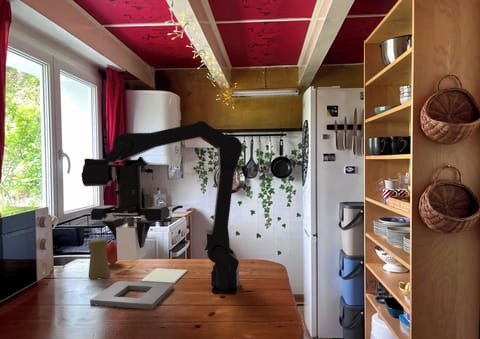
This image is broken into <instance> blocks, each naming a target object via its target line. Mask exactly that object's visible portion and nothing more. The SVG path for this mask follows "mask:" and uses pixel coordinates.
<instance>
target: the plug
mask: <svg viewBox="0 0 480 339" xmlns="http://www.w3.org/2000/svg"><path fill="white" fill-rule="evenodd" d="M126 220H127V223H125V224H124V223H123V225H122V226H119V227H116V237H117V241H116V244H117V260H118V261H129V262H130V261H131V262H132V261H135V262H137V261H139V260H140V259H142V258H143V257H145V256H146V255H147V246H146V245H147V242H146V240H147V239H146V240H145V243H144V246H143V247H142V248H140V246H139V242H138V232H137V223H135V217H127V218H126Z"/></svg>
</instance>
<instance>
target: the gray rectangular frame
mask: <svg viewBox="0 0 480 339" xmlns="http://www.w3.org/2000/svg"><path fill="white" fill-rule="evenodd" d="M173 289H174V284H168V283H150V282H141V281H128V280H118V281H116V282H115V283H113V284H112V285H110V286H108V287H107V288H105V289H104V290H102V291H101V292H100V293H98V294H96V295H94V297H92V298H91V299H89V305H90V304H97V305H96V306H101V305H105V306H104V307H114V306H117V308H129V309H130V308H131V309H143V310H145V309H146V310H153V309H155V307H156V306H157V305H158V304H159V303H160V302H161V301H163V299H164V298H165V297H166V296H168V294H170V292H171V291H173ZM127 290H128V291H143V292H144V291H145V293H143V295H142V296H140V297H124V296H122V295H124V294H125V293H126V292H128V291H127ZM123 293H124V294H123ZM120 295H121V296H120ZM119 296H120V297H119Z"/></svg>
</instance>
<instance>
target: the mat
mask: <svg viewBox="0 0 480 339" xmlns="http://www.w3.org/2000/svg"><path fill="white" fill-rule="evenodd" d="M187 272H188V269H179V268H177V269H173V268H155V269H154V270H153V271H151V272H150V273H148V274H147V275H145V277H144V278H142V279H141V280H140V282H147V283H165V284H173V285H174V284H176V283H177V282H178V281H179V280H180V279H181V278H182V277H183V276H184V275H185V274H186V273H187Z"/></svg>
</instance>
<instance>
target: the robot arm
mask: <svg viewBox="0 0 480 339" xmlns="http://www.w3.org/2000/svg"><path fill="white" fill-rule="evenodd" d="M196 139H201V140H203V141H204V142H206V143H207V144H209V145H210V146H211V147H213V148H215V149H216V150H217V163H218V179H217V187H216V195H215V204H214V212H213V213H214V214H213V221H212V225H211V228H210V229H207V228H206V229H205V240H204V242H203V247H204V251H206V256H207V258H208V259H209V261H211V262H212V263H213V265H212V270H211V272H210V279H211V280H210V281H211V282H210V283H211V287H212V288H211V292H212V293H224V294H237V292H238V290H239V288H240V286H241V285H242V283H241V281H240V268H239V267H240V266H239V265H240V262H239V259H238V256H237V255H236V253H235V250H233V249H232V248H231V246H230V243H231V242H230V234H229V221H230V213H231V212H230V210H231V203H232V195H233V186H234V177H235V176H234V175H235V171H236V169H237V166H238V164H239V161H240V158H241V154H242V150H243V144H242V141H241V140H240V139H239V138H238V137H236V136H234V135H227V134H225V133H224V132H221V131H220V130H218V129H216V128H215V127H212V126H211V125H209V124H208V123H207V122H205V121H202V120H201V121H197V122H194V123H190V124H185V125H181V126H176V127H172V128H167V129H162V130H159V131H157V130H156V131H153V132H128V133H127V132H126V133H125V132H124V133H121V134H118V135H117V136H116V137H115V139H114V140H113V143H112V149H111V150H110V151H109V152H108V154H107V156H106V157H105V158H84V161H83V162H84V164H83V166H82V170H81V171H82V172H81V181H82V184H83V186H84V187H103V186H104V187H106V186H107V187H108V186H111V184H112V182H115V181H116V189H114V190H113V194H114V195H116V196H117V197H116V198H117V206H116V205H101V206H98V207H97V206H96V207H93V208H92V209H91V211H90V213H89V215H90V220H91V221H102V220H103V219H104V220H103V221H102V224H103V225H106V226H107V228H108V230H109V231H110V232H111V233H112V235H113V237H114V238H115V241H116V242H117V237H116V227H119V226H122V225H124V223H125V219H126V217H127V218H128V217H134V218H138V217H139V218H140V220H138V221H136V223H135V224H137V232H138V242H139V246H140V248H142V247H143V246H144V243H145V240H147V236H148V233H149V230H150V228H151V226H152V224H153V223H154V222H160V221H164V220H165V219H167V218H170V217H171V211H170V208H169V207H168V206H167V205H153V204H154V197H153V196H150V195H149V194H147V193H146V192H145V188H144V187H142V175H141V174H142V172H141V170H142V169H141V167H146V166H149V162H147V160H145V159H144V157H143V156H139V155H141V154H144V153H146V152H148V151H150V150H152V149H155V148H158V147H163V146H168V145H172V144H173V145H174V144H177V143H181V142H186V141H190V140H196ZM136 156H138V158H137V159H126V158H134V157H136ZM125 159H126V160H125ZM123 160H124V163H123V164H114V162H115V163H116V162H117V163H118V162H122V161H123Z"/></svg>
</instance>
